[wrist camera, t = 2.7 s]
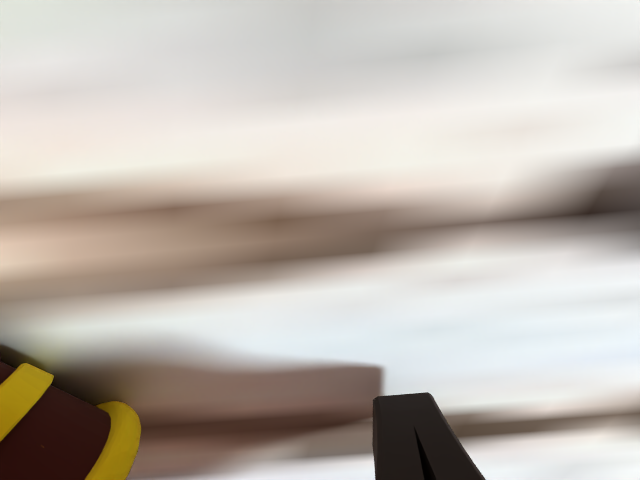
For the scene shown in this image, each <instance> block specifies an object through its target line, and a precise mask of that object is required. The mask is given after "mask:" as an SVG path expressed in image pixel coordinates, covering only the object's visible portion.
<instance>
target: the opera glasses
mask: <svg viewBox="0 0 640 480" xmlns="http://www.w3.org/2000/svg"><path fill="white" fill-rule="evenodd" d="M53 379H54V375H52V374H50V373H47V372H45V371H43V370H41V369H39V368H36V367H34V366H32V365H30V364H28V363H24V364H21V365H20V366H18V367H17V368H16V369H15V368H13V367H11V366H9V365H7V364H5V363H3V362H1V355H0V480H125V479H126V477H127V476H128V474H129V472H130V469H131V467H132V464H133V462H134V459H135V457H136V454H137V452H138V447H139V441H140V434H141V425H140V420H139V417H138V415H137V414H136V412H135V411H134V410H133V409H132V408H131V407H130V406H128V405H127V404H125V403H122V402H118V401H111V402H105V403H101V404H98V405H96V406H94V405H91V404H89V403H87V402H85V401H83V400H81V399H79V398H77V397H75V396H72V395H70V394H68V393H66V392H64V391H62V390H60V389H58V388H56V387H53V386H51V385H50V384H51V383H52V381H53ZM109 432H110V433H109ZM104 446H105V447H104Z"/></svg>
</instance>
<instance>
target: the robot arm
mask: <svg viewBox="0 0 640 480" xmlns="http://www.w3.org/2000/svg"><path fill="white" fill-rule="evenodd" d="M373 453H374V464H375V480H485V478H484V477H483V475H482V474H481V472H480V471H479V470H478V468H477V467H476V465H475V464H474V463H473V461H472V460H471V458H470V457H469V455H468V454H467V452H466V451H465V449H464V448H463V446H462V445H461V443H460V442H459V440H458V438H457V437H456V435H455V434H454V432H453V431H452V429H451V427H450V426H449V424H448V423H447V421H446V419H445V418H444V416H443V414H442V412H441V411H440V409H439V407H438V405H437V404H436V402H435V400H434V398H433V396H432V395H431V394H429V393H428V392H427V393H415V394H403V395H391V396H378V397H377V398H375V399H374V400H373Z"/></svg>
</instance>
